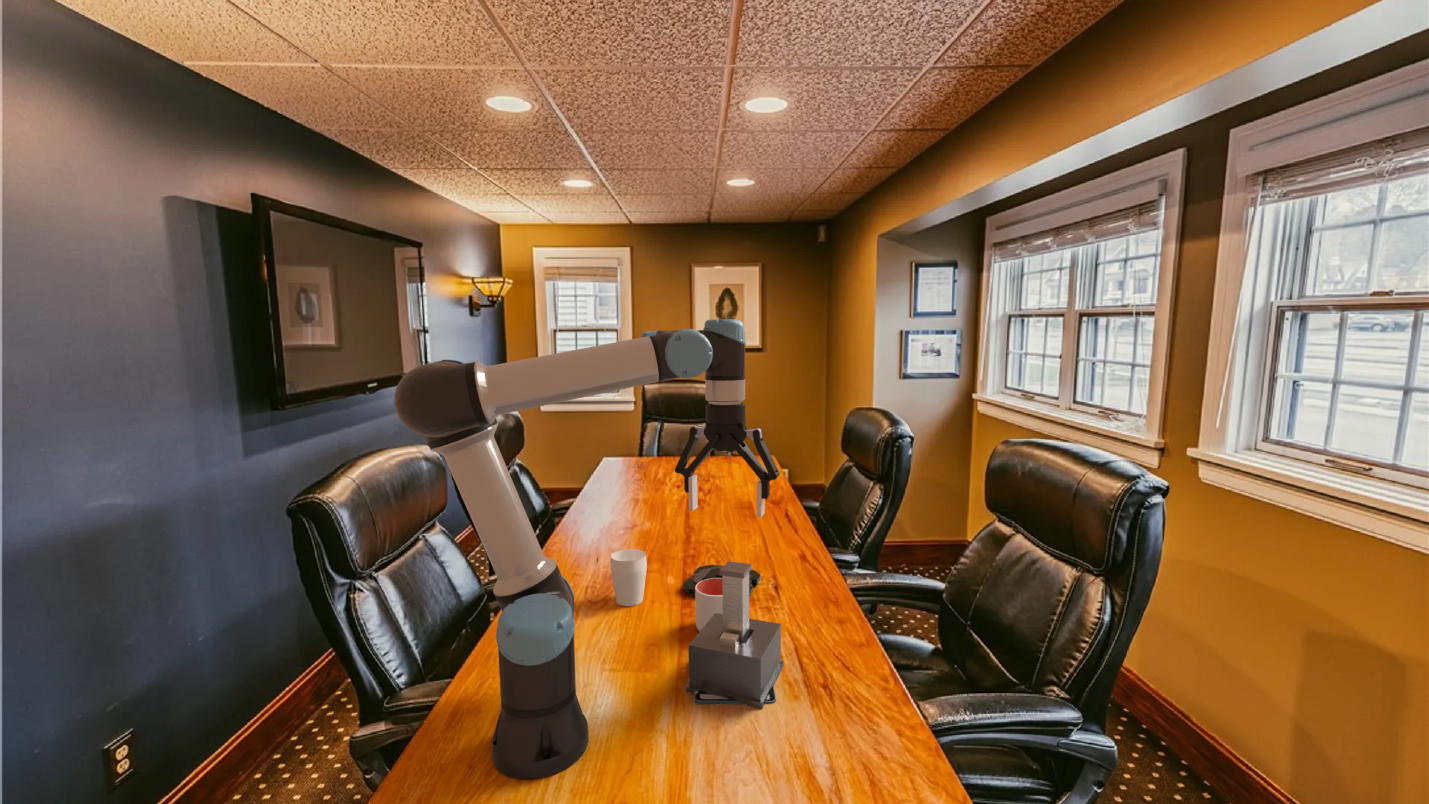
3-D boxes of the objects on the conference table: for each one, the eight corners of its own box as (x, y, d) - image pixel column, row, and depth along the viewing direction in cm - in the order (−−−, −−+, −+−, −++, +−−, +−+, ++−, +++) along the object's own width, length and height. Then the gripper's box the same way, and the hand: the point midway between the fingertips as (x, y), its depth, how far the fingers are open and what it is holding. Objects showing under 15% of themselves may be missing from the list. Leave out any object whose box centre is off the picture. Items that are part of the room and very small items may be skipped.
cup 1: (641, 610, 147) (639, 562, 146) (606, 607, 149) (604, 560, 147) (652, 594, 156) (651, 549, 154) (619, 592, 157) (617, 547, 156)
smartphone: (776, 701, 109) (693, 701, 109) (776, 706, 109) (693, 706, 109) (772, 678, 116) (694, 678, 116) (772, 683, 117) (694, 683, 116)
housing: (762, 708, 108) (762, 652, 107) (685, 691, 113) (684, 638, 112) (783, 665, 122) (783, 615, 120) (714, 652, 127) (713, 604, 126)
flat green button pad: (745, 607, 149) (745, 589, 148) (678, 597, 155) (677, 580, 154) (763, 579, 166) (763, 563, 165) (702, 571, 172) (701, 556, 171)
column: (744, 680, 114) (743, 573, 112) (720, 675, 116) (719, 570, 114) (752, 667, 119) (751, 564, 116) (729, 662, 120) (728, 561, 118)
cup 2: (701, 642, 131) (701, 598, 130) (691, 621, 141) (690, 580, 140) (745, 636, 134) (745, 592, 133) (732, 616, 143) (732, 575, 142)
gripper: (795, 401, 113) (794, 512, 115) (672, 398, 121) (674, 501, 123) (786, 406, 106) (786, 523, 108) (656, 402, 114) (658, 511, 116)
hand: (726, 512), depth 116 cm, fingers open, 13 cm apart
